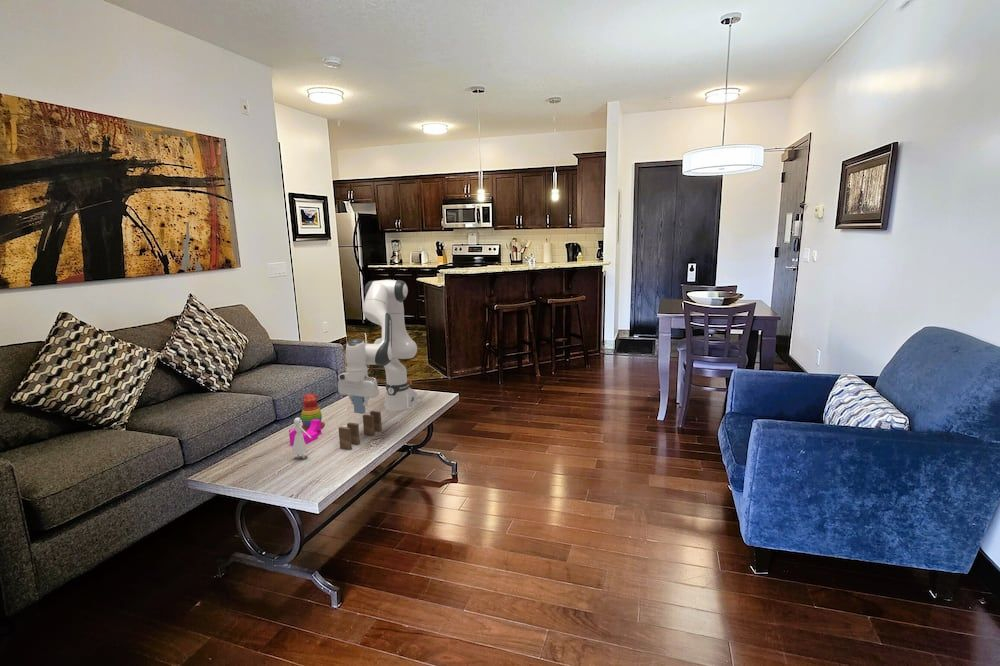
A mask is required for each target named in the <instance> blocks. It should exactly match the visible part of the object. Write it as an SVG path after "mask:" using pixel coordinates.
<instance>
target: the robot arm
mask: <svg viewBox="0 0 1000 666" xmlns="http://www.w3.org/2000/svg"><path fill="white" fill-rule="evenodd" d="M408 293H409V289H408V285H407V283H406V282H405V281H404V280H400V279H397V280H395V279H381V280H369V281H367V283H366V284H365V286H364V295H365V298H364V302H363V307H362V312H363V315H364V317H365V318H366V320H368V321H369V322H371V323H374V324H376V325H377V326H380V327H381V337H380V338H377V339H376V340H375V341H374V342H373V343H365V341H364V339H362V338H354V339H350V340H348V341H347V342H346V347H345V362H346V364H347V365H346V366H347V367H346V371H345V372H342V373H340V374H338V375H337V379H338V382H337V390H338V393H339V394H340V395H344V396H345V395H346V396H347V397H348V399H349V400H350V404H351V405H353V406H354V401H353V396H360V397H364V399H365V401H364V402H362V403H363V406H365V407H367V406H368V405H369V404H368V403H369V400H370V399H375V398H377V397H379V395H380V392H379V391H380V390H379V386H378V385H379V384H378V380H377V379H376V378H375V377H373V376H369V375H368V367H367V365H373V366H374V365H375V366H383V367H384V370H385V371H384V372H385V380H386V383H385V392H384V403H383V407H384V409H385V410H387V411H391V412H400V411H405V410H411V409H414V408H415V407H416V406H417V405H418V404H420V403H421V402H422V399H421V398H418V395H417V392H416V391H415V390H414V389H413V388H411V387H410V385H412V380H408V376H407V375H408V374H407V367H406V366H405V365H404V364H402V362H401V361H400V359H401V360H407V359H412V358H415V356H416V354H417V352H418V346H417V343H416V342H415V341H414V340H413V339H412V337H411V336H410V335H409V333H408V332H407V328H406V323H405V308H404V301H405V300H406V299H407V296H408Z"/></svg>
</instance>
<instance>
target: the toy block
mask: <svg viewBox="0 0 1000 666" xmlns="http://www.w3.org/2000/svg"><path fill="white" fill-rule="evenodd" d="M321 422H322V420H321V421H320V420H317V419H313V420H311V425H310V427H309V429H308V430H307V431H306V433H307V434H308V435H309V436H311V438H310V437H309V436H308V435H307V434H306V433H304V432H303V433H302V435H303V438H304V441H305V444H306V445H308V444H310V443H311V442H314V441H316V440H318V439H319V436H320V435H322V429H321ZM293 428H294V427H293ZM293 428H290V429H288V434H289V432H290V431H291V430H292V429H293ZM296 433H297V432H296V430H295V429H294V430H293V431H292V432H291V433H290V434H289V435H288V437H289V445H290V446H293V445H294V439H295V435H296Z"/></svg>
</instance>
